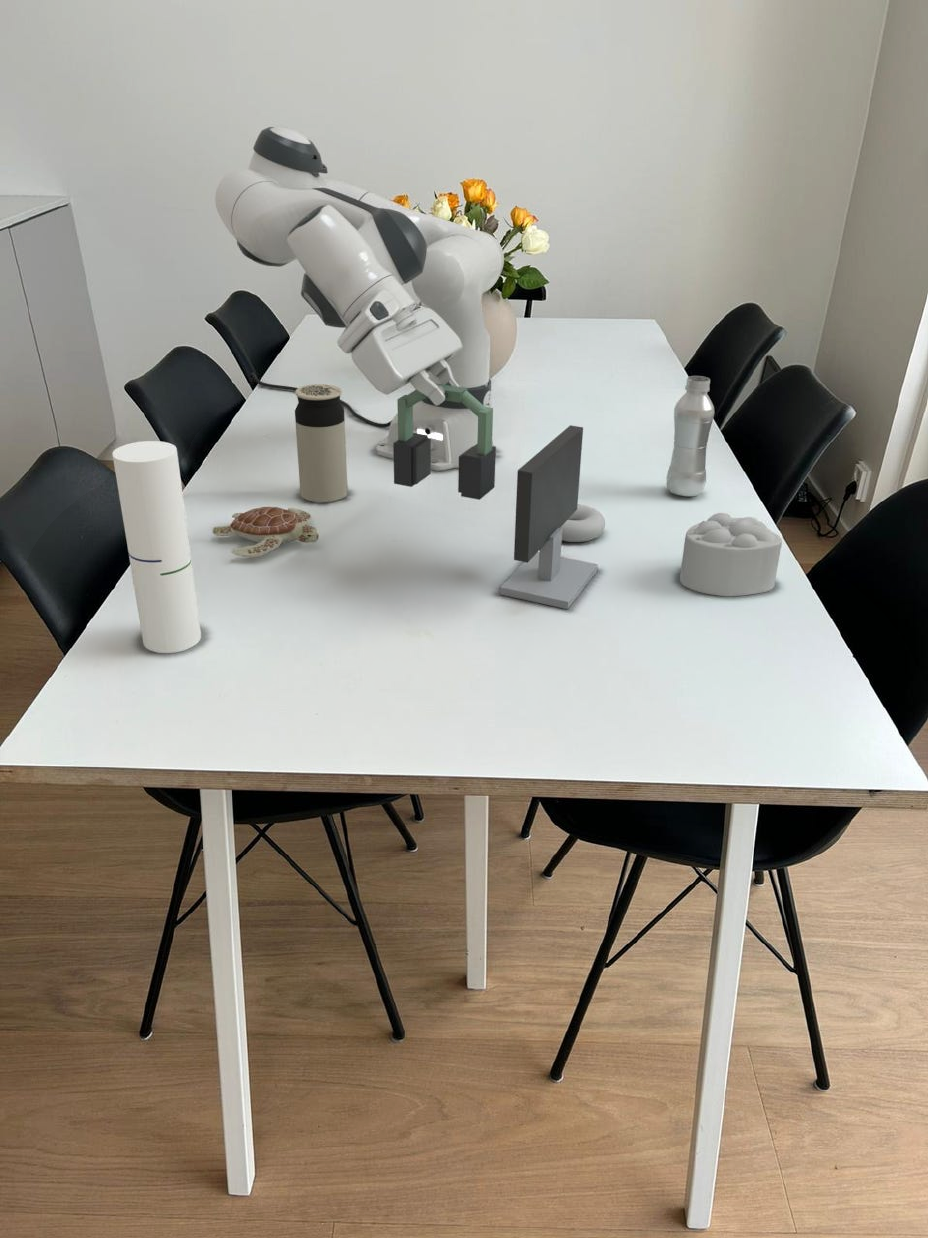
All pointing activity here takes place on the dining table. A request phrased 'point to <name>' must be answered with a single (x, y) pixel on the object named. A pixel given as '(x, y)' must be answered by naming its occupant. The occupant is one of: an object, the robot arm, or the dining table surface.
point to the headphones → (416, 448)
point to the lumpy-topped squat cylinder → (730, 556)
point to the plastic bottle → (691, 438)
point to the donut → (583, 525)
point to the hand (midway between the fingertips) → (449, 397)
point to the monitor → (548, 525)
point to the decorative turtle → (269, 529)
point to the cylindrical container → (158, 544)
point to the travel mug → (321, 443)
